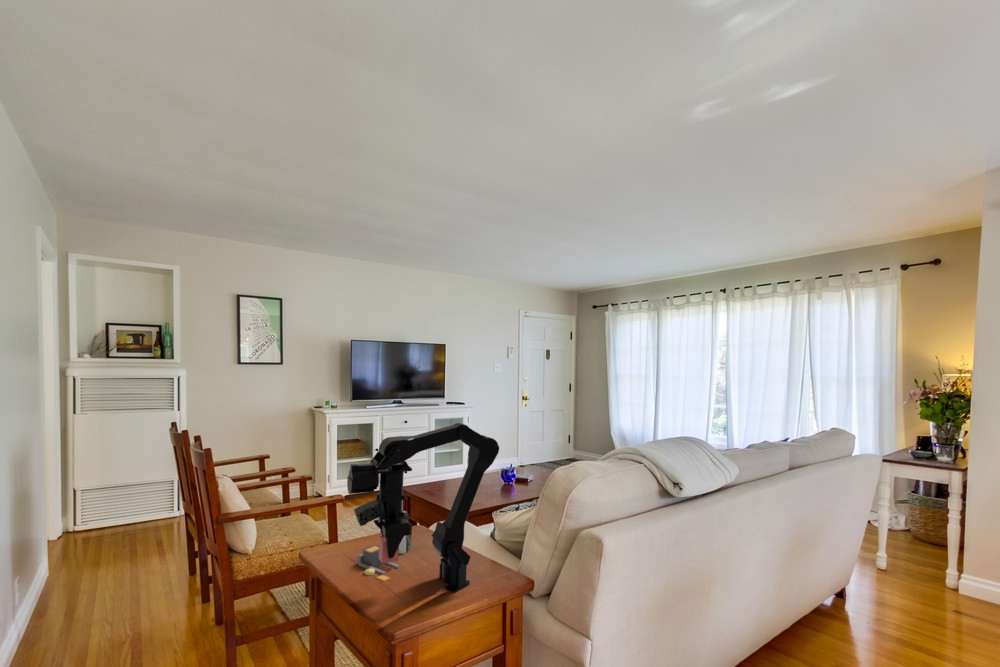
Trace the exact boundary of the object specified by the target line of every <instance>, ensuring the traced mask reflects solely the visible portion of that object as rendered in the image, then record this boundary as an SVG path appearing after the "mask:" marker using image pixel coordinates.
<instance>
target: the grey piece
mask: <svg viewBox="0 0 1000 667" xmlns="http://www.w3.org/2000/svg"><path fill="white" fill-rule="evenodd" d="M383 564H384V565H386V566H384V565H383ZM383 564H381V565H378V566H376V567H372V566H369V565H366V564H364V563H363V553H360V554H358V555H357V565H358V566H359V567H362V568H364V569H365V570H364V575H365V576H374V575H375V573H378V574H379V575H378V576H376V579H378V580H381V581H384V582H386V581H388V580H389V579H391V577H389V576H387V575H386V573H388V572H390V571H392V570H393V568H396V569H399V568H400V567H401V565H400V564H397V563H394V562H389V563H383ZM387 566H390V567H393V568H389V567H387Z"/></svg>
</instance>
